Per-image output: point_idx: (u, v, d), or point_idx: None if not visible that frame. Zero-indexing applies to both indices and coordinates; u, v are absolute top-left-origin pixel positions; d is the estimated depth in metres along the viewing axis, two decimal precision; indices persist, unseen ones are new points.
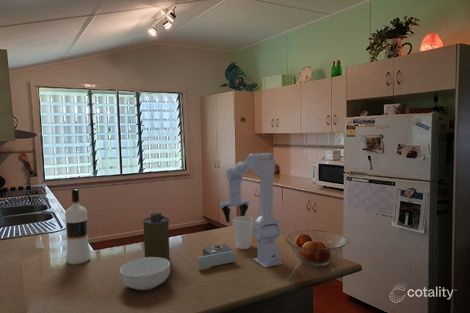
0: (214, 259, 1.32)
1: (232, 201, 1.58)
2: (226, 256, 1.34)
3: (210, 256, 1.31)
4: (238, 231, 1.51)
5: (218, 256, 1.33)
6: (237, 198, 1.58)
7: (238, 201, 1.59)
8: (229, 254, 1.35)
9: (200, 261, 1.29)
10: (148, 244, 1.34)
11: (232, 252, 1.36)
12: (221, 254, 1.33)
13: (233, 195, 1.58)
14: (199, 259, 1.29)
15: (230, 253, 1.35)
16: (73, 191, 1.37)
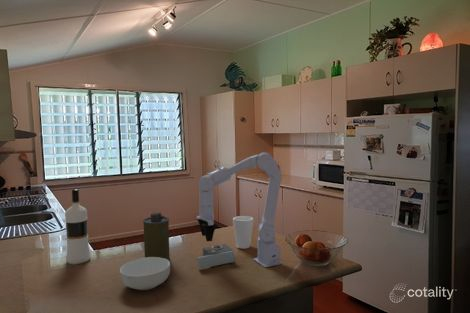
0: (214, 259, 1.32)
1: (212, 214, 1.36)
2: (226, 256, 1.34)
3: (210, 256, 1.31)
4: (238, 230, 1.51)
5: (218, 256, 1.33)
6: None
7: None
8: (229, 254, 1.35)
9: (200, 261, 1.29)
10: (148, 244, 1.34)
11: (232, 252, 1.36)
12: (221, 254, 1.33)
13: (212, 207, 1.36)
14: (199, 259, 1.29)
15: (230, 253, 1.35)
16: (73, 191, 1.37)
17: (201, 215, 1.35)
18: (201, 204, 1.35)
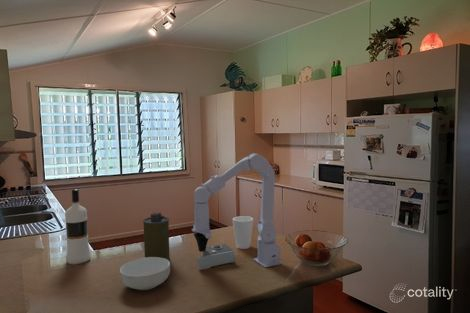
0: (214, 259, 1.32)
1: (208, 227, 1.33)
2: (226, 256, 1.34)
3: (210, 256, 1.31)
4: (238, 231, 1.51)
5: (218, 256, 1.33)
6: None
7: None
8: (229, 254, 1.35)
9: (200, 261, 1.29)
10: (148, 244, 1.34)
11: (232, 252, 1.36)
12: (221, 254, 1.33)
13: (208, 219, 1.33)
14: (199, 259, 1.29)
15: (230, 253, 1.35)
16: (73, 191, 1.37)
17: (197, 228, 1.32)
18: (197, 216, 1.31)
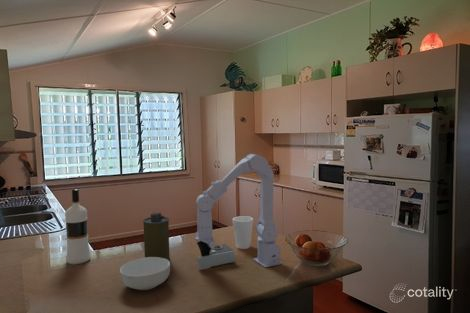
0: (214, 260, 1.32)
1: (211, 235, 1.30)
2: (226, 256, 1.34)
3: (210, 256, 1.31)
4: (238, 231, 1.51)
5: (218, 256, 1.33)
6: None
7: None
8: (229, 254, 1.35)
9: (200, 261, 1.29)
10: (148, 244, 1.34)
11: (232, 252, 1.36)
12: (221, 254, 1.33)
13: (211, 227, 1.31)
14: (199, 259, 1.29)
15: (230, 253, 1.35)
16: (73, 191, 1.37)
17: (200, 236, 1.29)
18: (201, 225, 1.29)
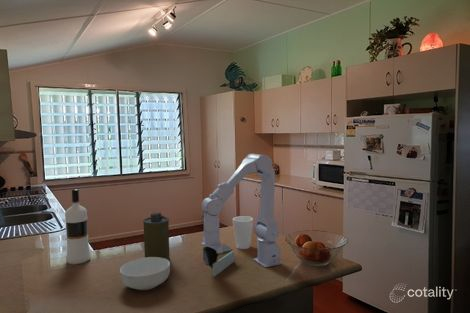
0: (223, 263, 1.29)
1: (218, 240, 1.24)
2: (230, 257, 1.33)
3: (221, 260, 1.27)
4: (238, 231, 1.51)
5: (225, 259, 1.30)
6: None
7: None
8: (231, 255, 1.34)
9: (215, 267, 1.24)
10: (148, 244, 1.34)
11: (233, 252, 1.36)
12: (227, 256, 1.31)
13: None
14: (215, 265, 1.23)
15: (232, 253, 1.35)
16: (73, 191, 1.37)
17: (207, 242, 1.23)
18: (210, 230, 1.22)
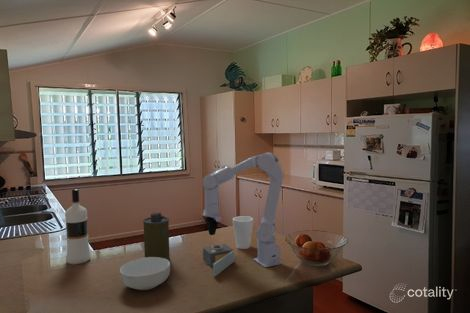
0: (223, 263, 1.28)
1: (217, 211, 1.41)
2: (230, 257, 1.33)
3: (221, 260, 1.27)
4: (238, 231, 1.51)
5: (226, 259, 1.30)
6: None
7: None
8: (231, 255, 1.34)
9: (216, 267, 1.23)
10: (148, 244, 1.34)
11: (233, 252, 1.36)
12: (227, 256, 1.31)
13: None
14: (215, 265, 1.23)
15: (232, 253, 1.35)
16: (73, 191, 1.37)
17: (207, 212, 1.40)
18: (206, 201, 1.40)
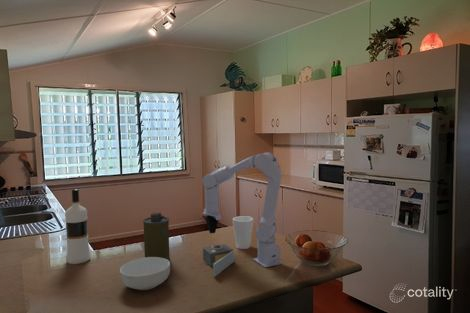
0: (223, 263, 1.28)
1: (217, 210, 1.44)
2: (230, 257, 1.33)
3: (221, 260, 1.27)
4: (238, 231, 1.51)
5: (226, 259, 1.30)
6: None
7: None
8: (231, 255, 1.34)
9: (216, 267, 1.23)
10: (148, 244, 1.34)
11: (233, 252, 1.36)
12: (227, 256, 1.31)
13: (218, 203, 1.44)
14: (215, 265, 1.23)
15: (232, 253, 1.35)
16: (73, 191, 1.37)
17: (207, 211, 1.42)
18: (205, 200, 1.43)
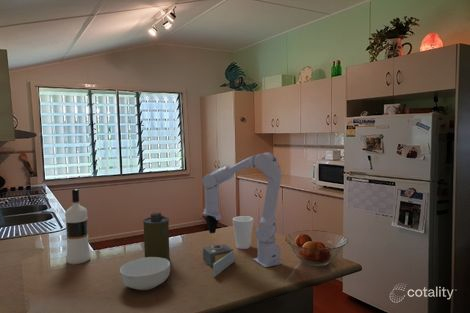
0: (223, 263, 1.28)
1: (217, 210, 1.44)
2: (230, 257, 1.33)
3: (221, 260, 1.27)
4: (238, 231, 1.51)
5: (226, 259, 1.30)
6: None
7: None
8: (231, 255, 1.34)
9: (216, 267, 1.23)
10: (148, 244, 1.34)
11: (233, 252, 1.36)
12: (227, 256, 1.31)
13: (218, 203, 1.44)
14: (215, 265, 1.23)
15: (232, 253, 1.35)
16: (73, 191, 1.37)
17: (207, 211, 1.42)
18: (205, 200, 1.43)
